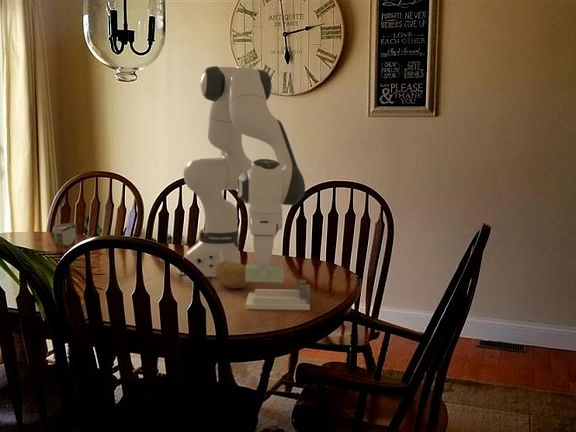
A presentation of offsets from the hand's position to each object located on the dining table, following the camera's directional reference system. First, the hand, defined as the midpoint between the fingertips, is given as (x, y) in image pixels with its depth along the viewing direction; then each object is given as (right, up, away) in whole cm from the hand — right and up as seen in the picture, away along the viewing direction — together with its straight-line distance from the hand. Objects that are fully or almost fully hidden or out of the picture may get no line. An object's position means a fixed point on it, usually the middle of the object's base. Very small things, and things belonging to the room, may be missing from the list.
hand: (264, 272), depth 163 cm
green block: (0, -2, 0) cm, 2 cm away
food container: (-83, +1, +78) cm, 113 cm away
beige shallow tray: (+3, -10, +13) cm, 17 cm away
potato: (-10, -8, +28) cm, 31 cm away
